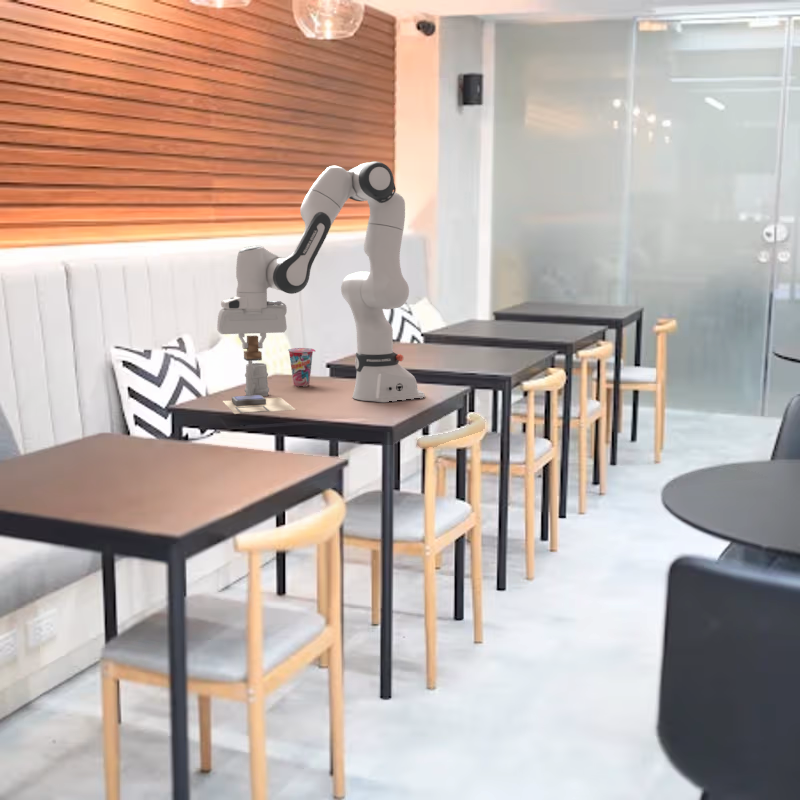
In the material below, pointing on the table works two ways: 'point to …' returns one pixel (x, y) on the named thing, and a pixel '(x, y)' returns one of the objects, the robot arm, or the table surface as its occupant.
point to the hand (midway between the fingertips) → (252, 348)
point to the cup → (301, 365)
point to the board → (257, 404)
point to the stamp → (252, 349)
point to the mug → (256, 379)
